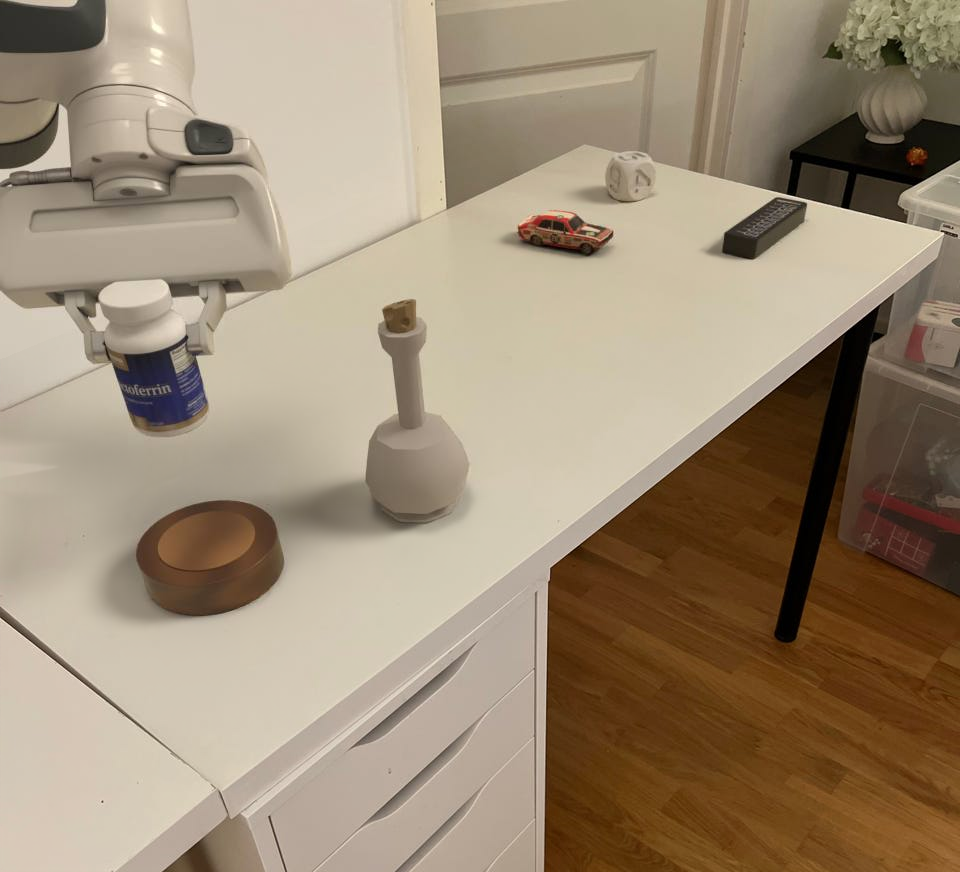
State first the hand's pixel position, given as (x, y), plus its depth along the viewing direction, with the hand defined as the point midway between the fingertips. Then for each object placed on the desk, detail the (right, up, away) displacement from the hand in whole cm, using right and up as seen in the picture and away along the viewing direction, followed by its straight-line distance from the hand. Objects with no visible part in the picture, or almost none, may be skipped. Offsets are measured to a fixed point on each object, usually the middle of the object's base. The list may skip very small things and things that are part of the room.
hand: (151, 357), depth 68 cm
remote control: (+59, +31, +54) cm, 86 cm away
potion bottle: (+18, -8, +16) cm, 25 cm away
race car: (+34, +30, +55) cm, 71 cm away
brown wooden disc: (+2, -14, +10) cm, 18 cm away
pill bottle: (0, -4, +4) cm, 6 cm away
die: (+44, +42, +67) cm, 90 cm away
